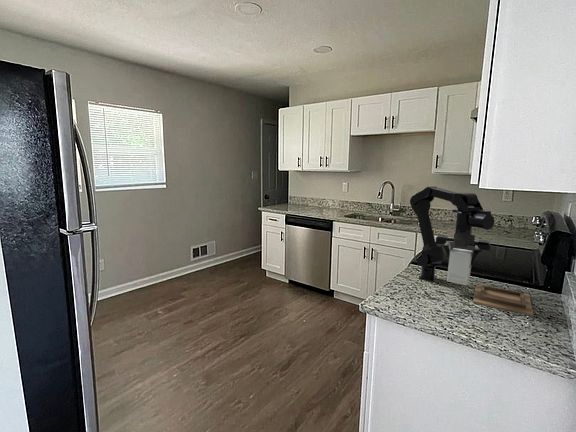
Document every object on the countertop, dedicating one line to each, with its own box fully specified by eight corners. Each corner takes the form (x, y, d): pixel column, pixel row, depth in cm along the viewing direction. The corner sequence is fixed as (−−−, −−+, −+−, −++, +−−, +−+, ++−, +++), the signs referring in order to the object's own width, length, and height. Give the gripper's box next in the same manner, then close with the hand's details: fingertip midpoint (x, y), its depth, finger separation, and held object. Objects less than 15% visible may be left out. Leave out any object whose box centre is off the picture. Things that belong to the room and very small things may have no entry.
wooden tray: (475, 286, 134) (476, 281, 133) (528, 296, 124) (529, 291, 124) (472, 302, 117) (473, 297, 117) (533, 315, 107) (533, 310, 107)
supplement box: (467, 285, 121) (470, 254, 119) (446, 281, 126) (449, 251, 124) (470, 280, 127) (473, 250, 125) (449, 276, 131) (452, 247, 129)
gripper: (434, 225, 121) (431, 264, 124) (491, 231, 111) (487, 273, 113) (439, 221, 130) (436, 257, 133) (492, 226, 120) (487, 265, 123)
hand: (460, 263), depth 125 cm, fingers closed on supplement box, 7 cm apart
